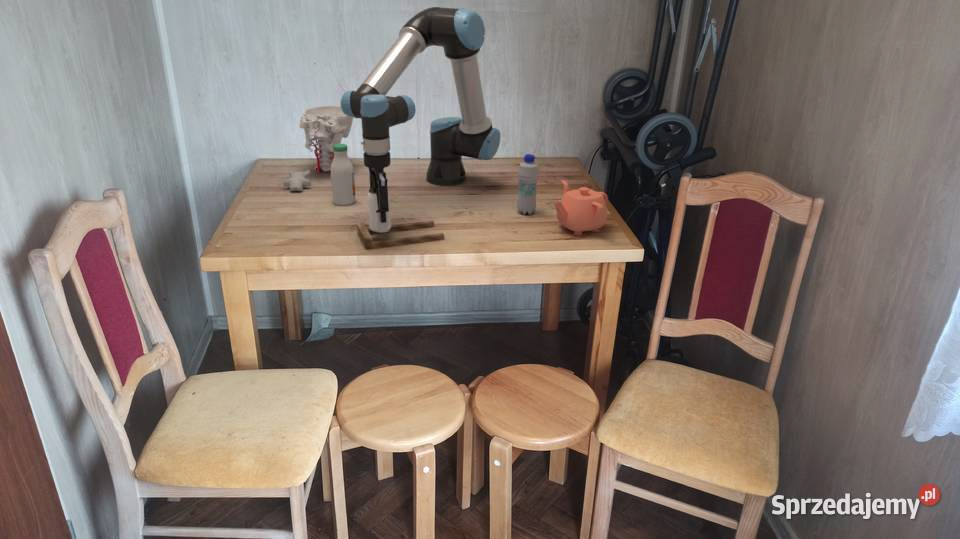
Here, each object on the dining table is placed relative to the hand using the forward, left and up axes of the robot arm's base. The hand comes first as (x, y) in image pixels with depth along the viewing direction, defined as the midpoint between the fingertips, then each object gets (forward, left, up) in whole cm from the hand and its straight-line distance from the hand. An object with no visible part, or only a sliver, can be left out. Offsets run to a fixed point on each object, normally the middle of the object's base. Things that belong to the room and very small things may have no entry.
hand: (380, 227), depth 192 cm
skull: (+4, -70, -4) cm, 70 cm away
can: (0, 0, -1) cm, 1 cm away
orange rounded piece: (-61, +10, -4) cm, 62 cm away
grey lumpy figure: (+18, -56, -4) cm, 59 cm away
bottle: (-51, -7, -4) cm, 52 cm away
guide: (-7, 0, -4) cm, 8 cm away
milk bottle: (+5, -35, -4) cm, 36 cm away
